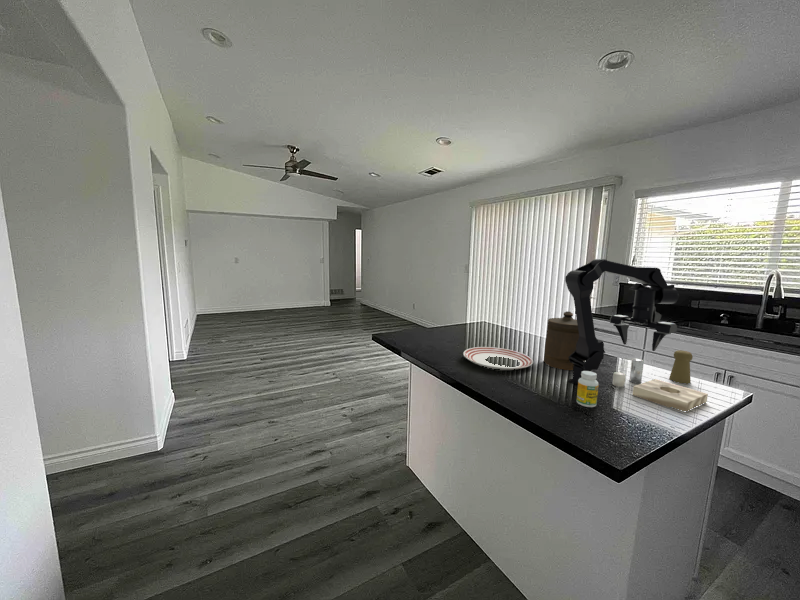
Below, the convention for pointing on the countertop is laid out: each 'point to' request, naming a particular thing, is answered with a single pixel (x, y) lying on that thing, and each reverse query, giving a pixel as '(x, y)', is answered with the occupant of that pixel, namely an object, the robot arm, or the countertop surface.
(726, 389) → the countertop surface
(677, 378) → the cork
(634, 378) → the tall steel pin
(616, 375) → the short cream pin
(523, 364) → the dinner plate
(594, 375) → the supplement bottle
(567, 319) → the wooden container
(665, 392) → the hole board
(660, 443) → the countertop surface
